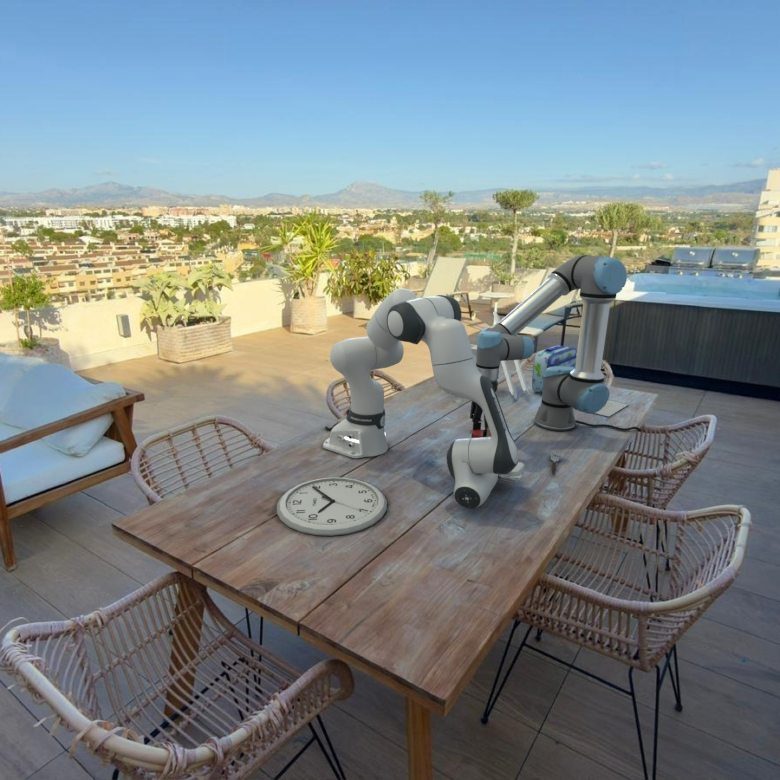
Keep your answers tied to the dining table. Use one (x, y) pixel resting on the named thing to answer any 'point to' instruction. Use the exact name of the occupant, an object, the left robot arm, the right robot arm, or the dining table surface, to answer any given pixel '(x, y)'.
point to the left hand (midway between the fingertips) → (494, 455)
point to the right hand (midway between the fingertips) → (480, 444)
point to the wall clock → (331, 506)
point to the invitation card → (611, 408)
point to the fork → (554, 461)
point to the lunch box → (551, 363)
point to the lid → (477, 433)
